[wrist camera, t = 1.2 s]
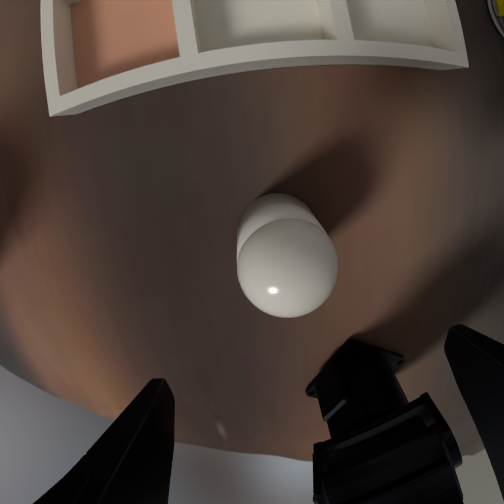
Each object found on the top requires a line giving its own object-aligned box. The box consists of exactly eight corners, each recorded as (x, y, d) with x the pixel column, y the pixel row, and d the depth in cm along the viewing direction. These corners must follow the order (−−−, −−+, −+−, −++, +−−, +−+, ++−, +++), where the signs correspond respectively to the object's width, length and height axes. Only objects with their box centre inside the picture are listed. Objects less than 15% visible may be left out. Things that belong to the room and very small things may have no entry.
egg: (329, 214, 18) (373, 268, 12) (291, 277, 19) (313, 350, 13) (259, 179, 17) (272, 218, 11) (223, 248, 18) (217, 317, 12)
